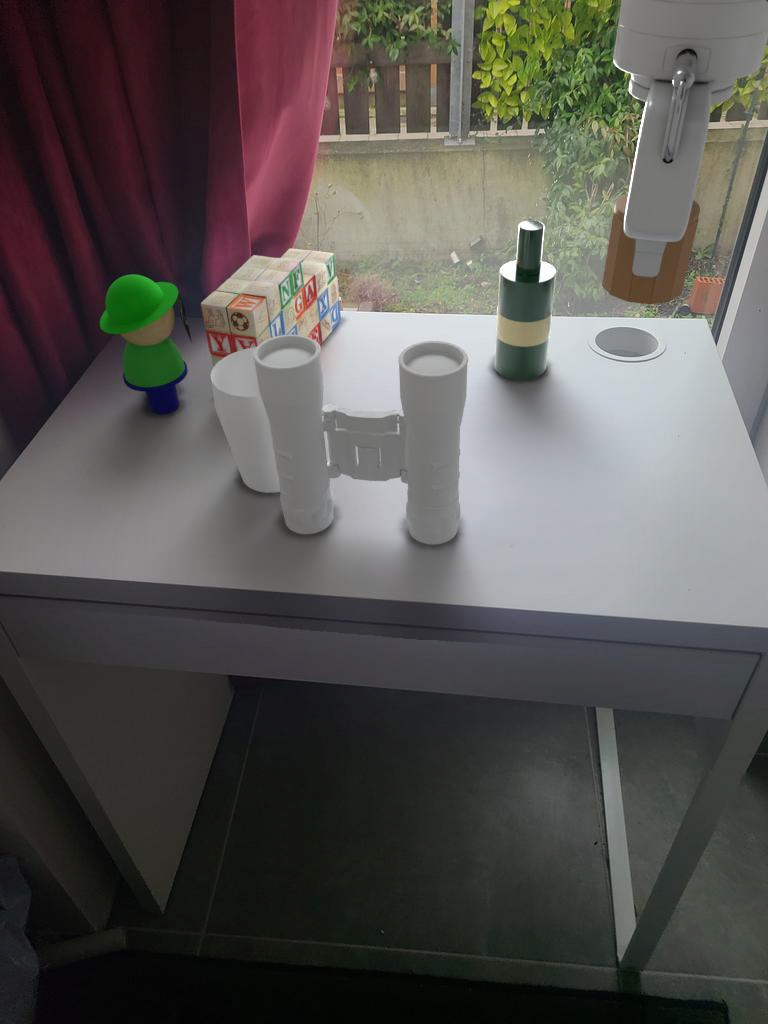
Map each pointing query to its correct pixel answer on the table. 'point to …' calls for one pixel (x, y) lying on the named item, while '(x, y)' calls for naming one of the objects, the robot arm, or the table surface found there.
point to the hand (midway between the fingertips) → (648, 251)
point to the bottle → (525, 308)
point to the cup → (245, 420)
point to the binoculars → (366, 434)
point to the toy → (147, 337)
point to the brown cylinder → (621, 259)
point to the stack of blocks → (273, 302)
